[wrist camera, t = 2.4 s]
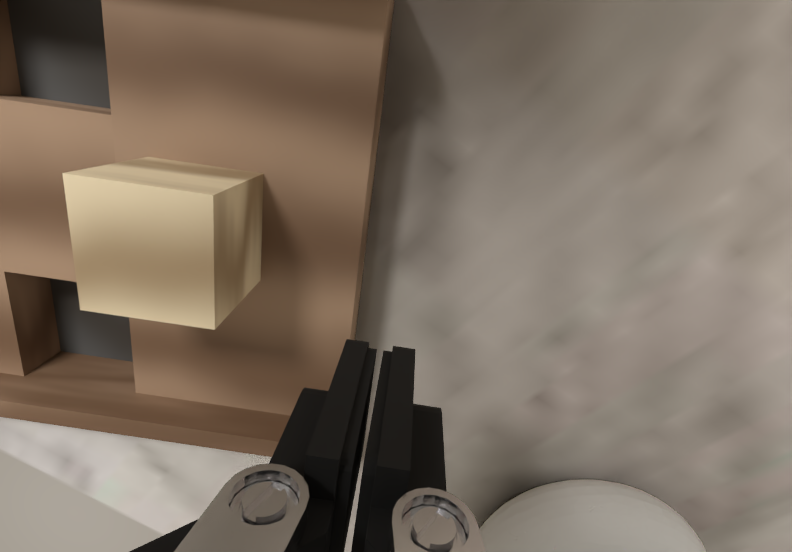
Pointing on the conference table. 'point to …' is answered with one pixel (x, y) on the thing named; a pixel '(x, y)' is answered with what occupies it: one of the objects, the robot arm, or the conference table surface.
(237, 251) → the maple block
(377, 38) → the box
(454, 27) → the conference table surface
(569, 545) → the decorative figurine
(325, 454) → the robot arm
